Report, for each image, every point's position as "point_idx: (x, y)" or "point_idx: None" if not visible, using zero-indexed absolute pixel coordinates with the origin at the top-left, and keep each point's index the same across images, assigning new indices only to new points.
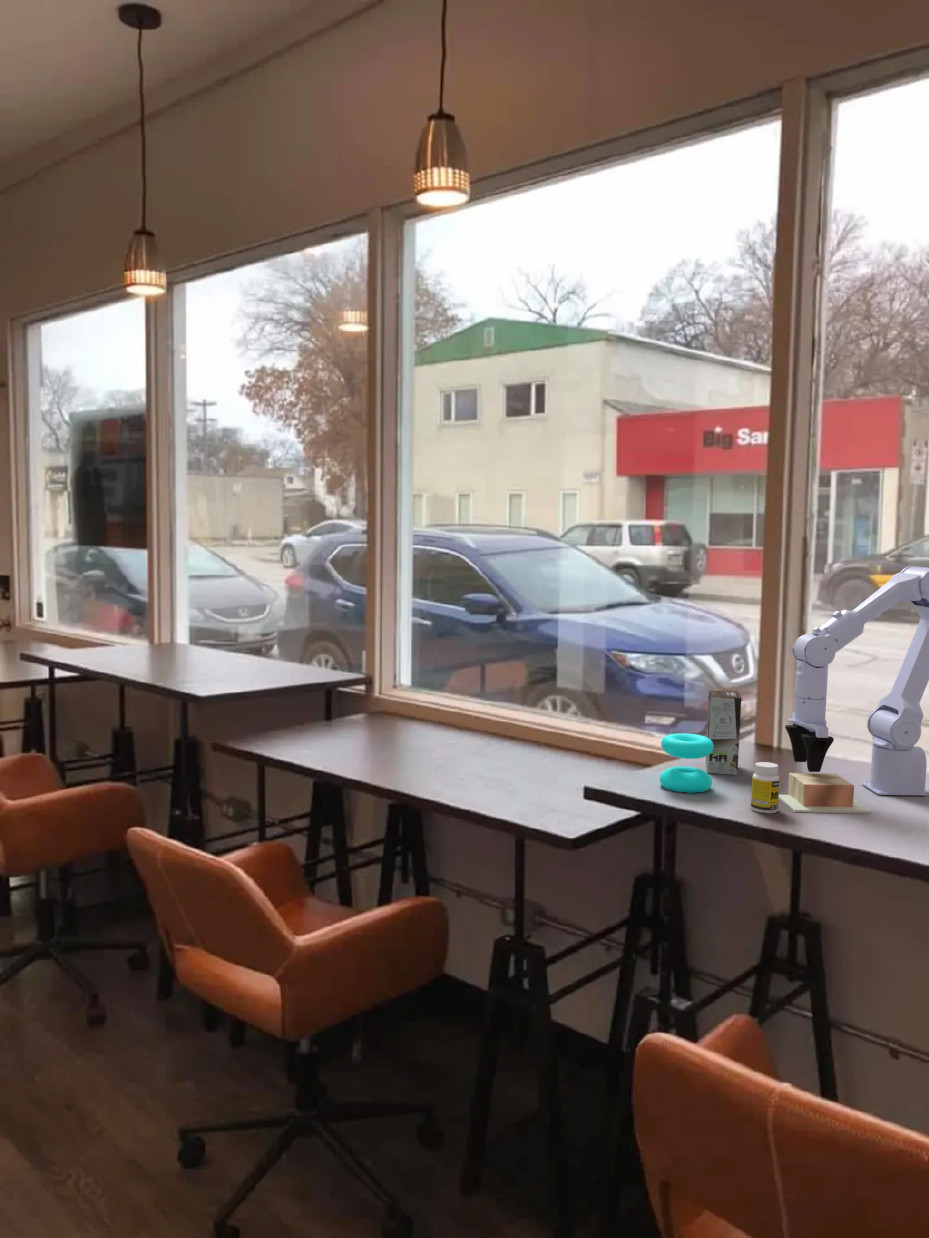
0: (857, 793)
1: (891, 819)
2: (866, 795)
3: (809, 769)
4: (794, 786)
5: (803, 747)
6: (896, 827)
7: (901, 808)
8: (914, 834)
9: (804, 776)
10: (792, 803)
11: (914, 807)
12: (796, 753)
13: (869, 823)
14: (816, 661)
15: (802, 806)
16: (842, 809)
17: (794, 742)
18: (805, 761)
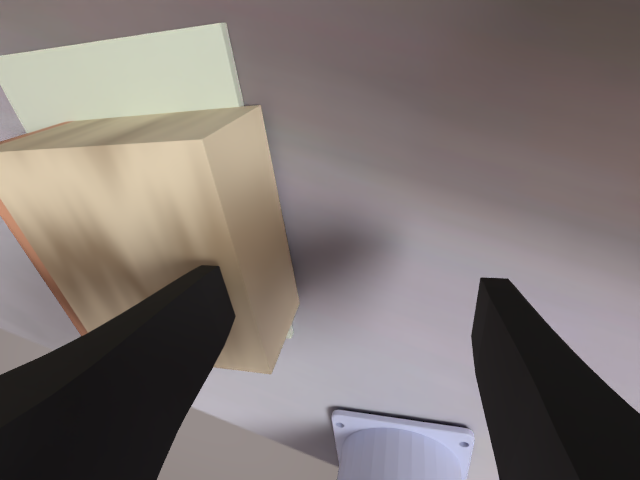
0: (356, 372)
1: None
2: (334, 383)
3: (190, 273)
4: (139, 129)
5: (505, 430)
6: (39, 317)
7: (217, 395)
8: (10, 328)
9: (149, 213)
10: (83, 78)
11: (237, 420)
12: (497, 333)
13: (32, 274)
14: None
15: (61, 115)
16: None
17: (541, 424)
18: (472, 337)
